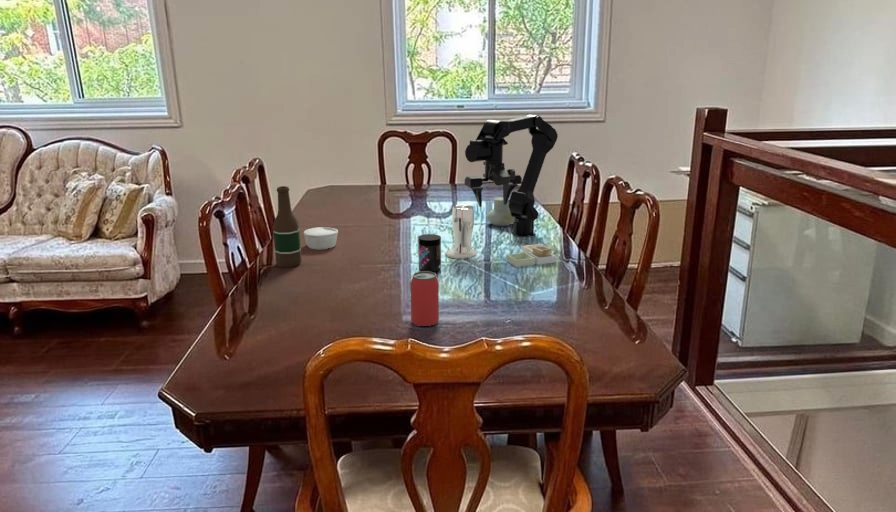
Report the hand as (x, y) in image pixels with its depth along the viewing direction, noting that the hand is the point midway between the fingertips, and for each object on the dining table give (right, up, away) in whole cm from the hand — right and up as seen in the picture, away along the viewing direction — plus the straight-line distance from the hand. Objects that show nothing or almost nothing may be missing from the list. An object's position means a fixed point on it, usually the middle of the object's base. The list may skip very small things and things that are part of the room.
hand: (492, 205), depth 206 cm
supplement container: (-20, -22, -24) cm, 38 cm away
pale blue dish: (+14, -19, -16) cm, 29 cm away
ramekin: (-58, -14, +1) cm, 59 cm away
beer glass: (-10, -16, -9) cm, 21 cm away
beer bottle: (-64, -20, -18) cm, 69 cm away
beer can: (-21, -33, -60) cm, 72 cm away
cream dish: (+13, -17, -10) cm, 23 cm away
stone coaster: (-11, -16, -9) cm, 22 cm away
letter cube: (+14, -18, -17) cm, 28 cm away
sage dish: (+7, -19, -19) cm, 28 cm away
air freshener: (+5, -5, +28) cm, 29 cm away
